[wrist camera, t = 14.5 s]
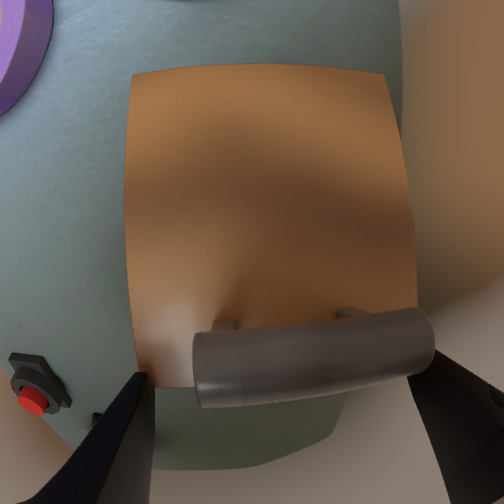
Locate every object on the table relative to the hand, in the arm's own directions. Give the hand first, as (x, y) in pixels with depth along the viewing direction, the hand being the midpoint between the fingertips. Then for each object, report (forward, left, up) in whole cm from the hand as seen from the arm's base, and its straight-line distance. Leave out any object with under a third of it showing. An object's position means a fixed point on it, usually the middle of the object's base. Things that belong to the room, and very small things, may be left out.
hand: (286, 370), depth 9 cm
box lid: (+4, +2, -3) cm, 5 cm away
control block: (-26, +15, -12) cm, 32 cm away
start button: (-26, +15, -10) cm, 31 cm away
